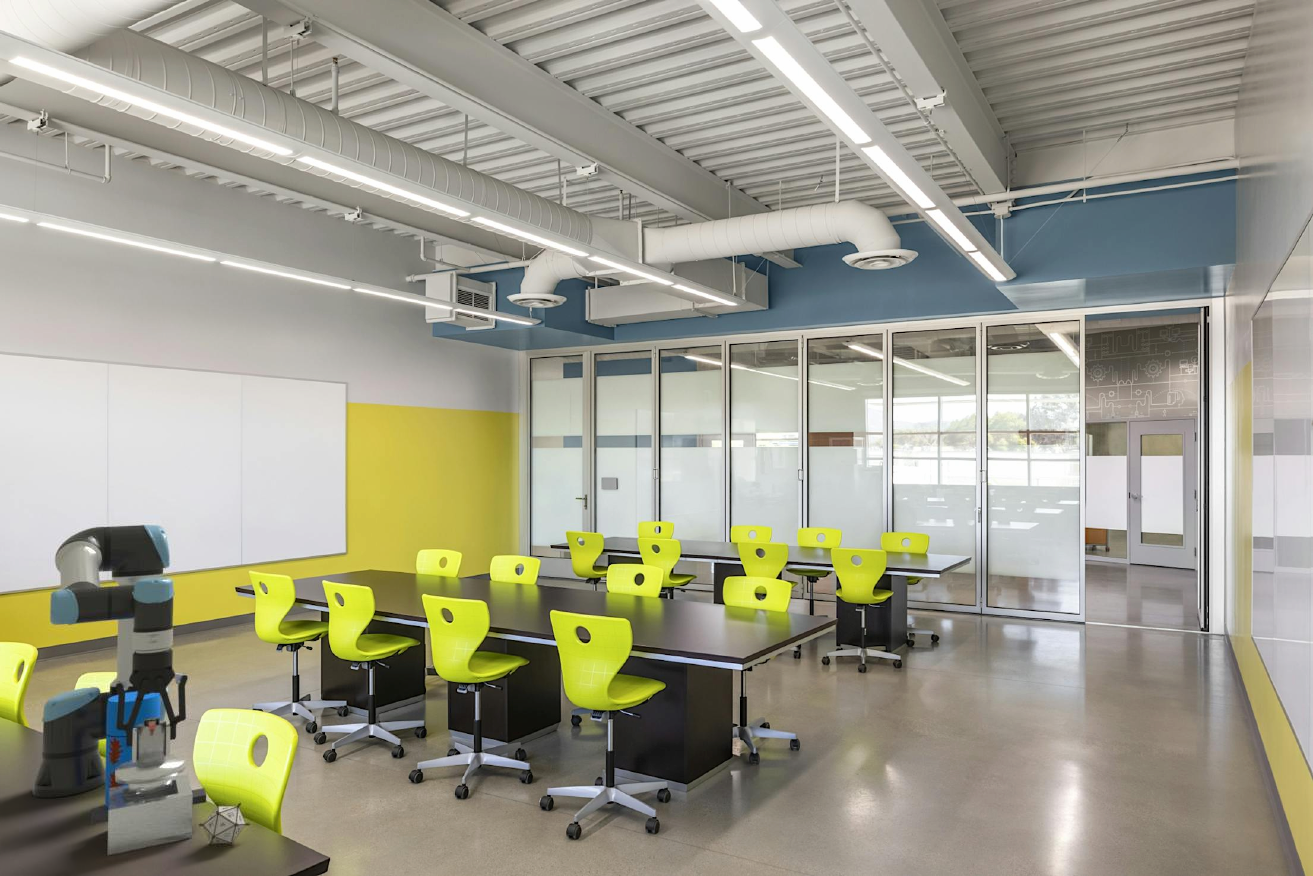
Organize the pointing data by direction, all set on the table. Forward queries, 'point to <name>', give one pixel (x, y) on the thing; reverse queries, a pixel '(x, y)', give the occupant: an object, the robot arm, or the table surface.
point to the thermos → (124, 733)
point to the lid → (150, 761)
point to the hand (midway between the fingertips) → (151, 757)
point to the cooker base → (148, 815)
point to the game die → (224, 824)
